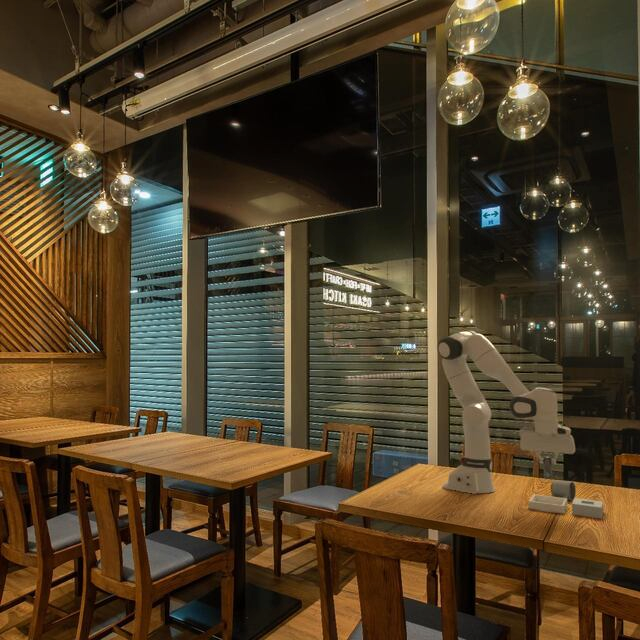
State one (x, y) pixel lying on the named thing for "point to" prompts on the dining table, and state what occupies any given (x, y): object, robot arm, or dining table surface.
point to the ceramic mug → (563, 489)
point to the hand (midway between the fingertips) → (547, 463)
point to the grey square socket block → (587, 508)
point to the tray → (548, 504)
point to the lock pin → (547, 467)
